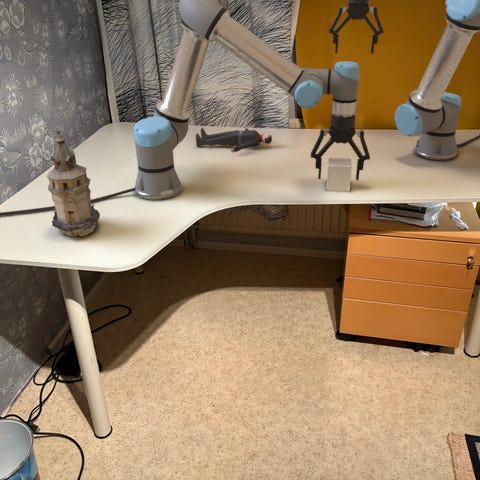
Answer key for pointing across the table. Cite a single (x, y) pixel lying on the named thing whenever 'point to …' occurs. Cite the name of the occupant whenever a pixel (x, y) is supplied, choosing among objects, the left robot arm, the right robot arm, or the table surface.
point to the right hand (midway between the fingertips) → (354, 52)
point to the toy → (234, 139)
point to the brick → (339, 174)
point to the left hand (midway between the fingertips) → (338, 178)
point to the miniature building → (70, 193)
